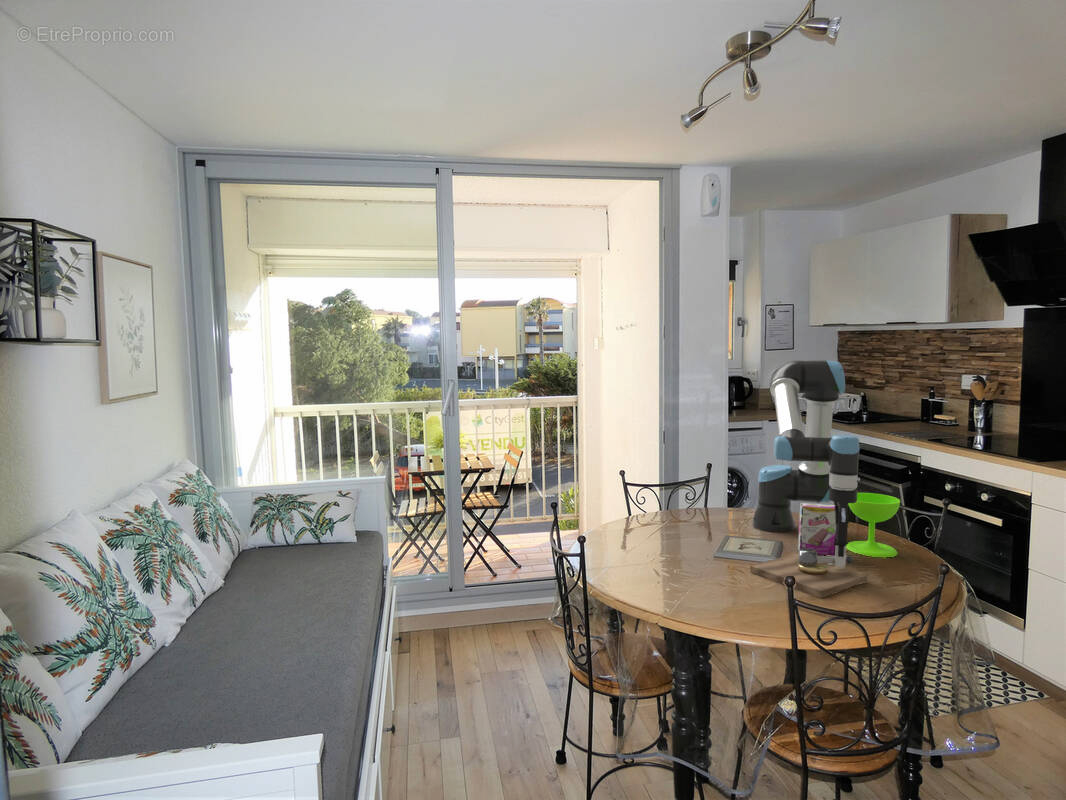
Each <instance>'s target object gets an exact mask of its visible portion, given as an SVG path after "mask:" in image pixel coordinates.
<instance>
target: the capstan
mask: <svg viewBox="0 0 1066 800" xmlns="http://www.w3.org/2000/svg"><path fill="white" fill-rule="evenodd" d="M798 554H799V562H798V568H799V570H801V571H803V572H807V573H811V574H824V573H826V572H827V565H826V564H824V563H832V564H835V556H824V555H817V551H816V550H813V549H807V548H803V549H799V550H798ZM853 561H854V557H853V556H852V555H850V554H846V560H845V564H848V565H849V564H852V563H853Z"/></svg>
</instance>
